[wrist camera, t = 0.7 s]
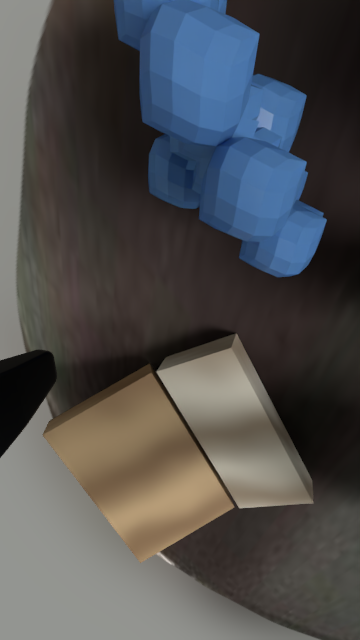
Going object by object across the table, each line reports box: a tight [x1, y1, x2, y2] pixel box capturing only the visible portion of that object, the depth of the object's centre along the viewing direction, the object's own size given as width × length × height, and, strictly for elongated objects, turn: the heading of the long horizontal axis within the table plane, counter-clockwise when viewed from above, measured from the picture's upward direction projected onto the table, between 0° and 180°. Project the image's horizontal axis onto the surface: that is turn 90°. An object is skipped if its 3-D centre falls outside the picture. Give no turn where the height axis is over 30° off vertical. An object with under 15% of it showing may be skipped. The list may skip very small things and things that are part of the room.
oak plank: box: [43, 364, 234, 563], centre depth 27 cm, size 14×9×2 cm, turn 30°
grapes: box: [114, 0, 327, 277], centre depth 13 cm, size 12×7×12 cm, turn 29°
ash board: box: [156, 334, 313, 508], centre depth 25 cm, size 14×6×2 cm, turn 30°
